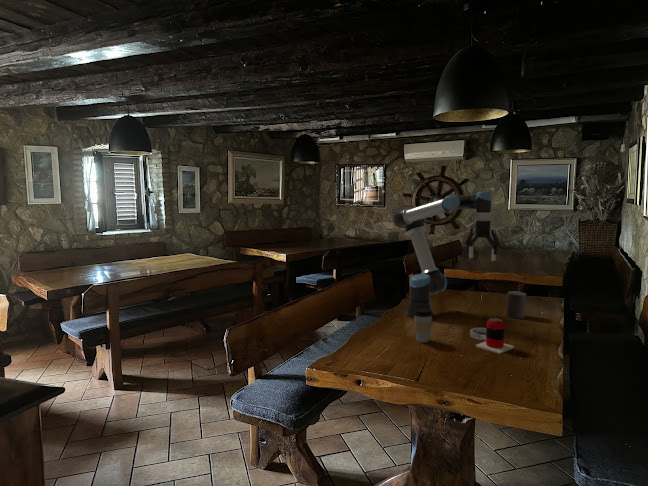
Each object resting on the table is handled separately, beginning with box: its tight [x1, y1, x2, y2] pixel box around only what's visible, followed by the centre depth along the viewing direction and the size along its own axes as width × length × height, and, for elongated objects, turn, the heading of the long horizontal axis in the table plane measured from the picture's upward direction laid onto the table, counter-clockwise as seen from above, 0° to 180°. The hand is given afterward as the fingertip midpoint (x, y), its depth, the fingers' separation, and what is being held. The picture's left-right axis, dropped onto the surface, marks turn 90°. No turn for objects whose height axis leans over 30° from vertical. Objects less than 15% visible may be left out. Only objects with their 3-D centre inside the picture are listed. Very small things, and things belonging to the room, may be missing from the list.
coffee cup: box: [413, 308, 434, 344], centre depth 207 cm, size 9×9×15 cm
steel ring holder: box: [469, 327, 487, 341], centre depth 213 cm, size 12×12×2 cm
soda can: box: [485, 317, 505, 348], centre depth 197 cm, size 8×8×12 cm
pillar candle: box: [506, 290, 527, 320], centre depth 247 cm, size 10×10×15 cm
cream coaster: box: [475, 340, 515, 355], centre depth 198 cm, size 12×12×1 cm
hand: (482, 259), depth 234 cm, fingers open, 13 cm apart
